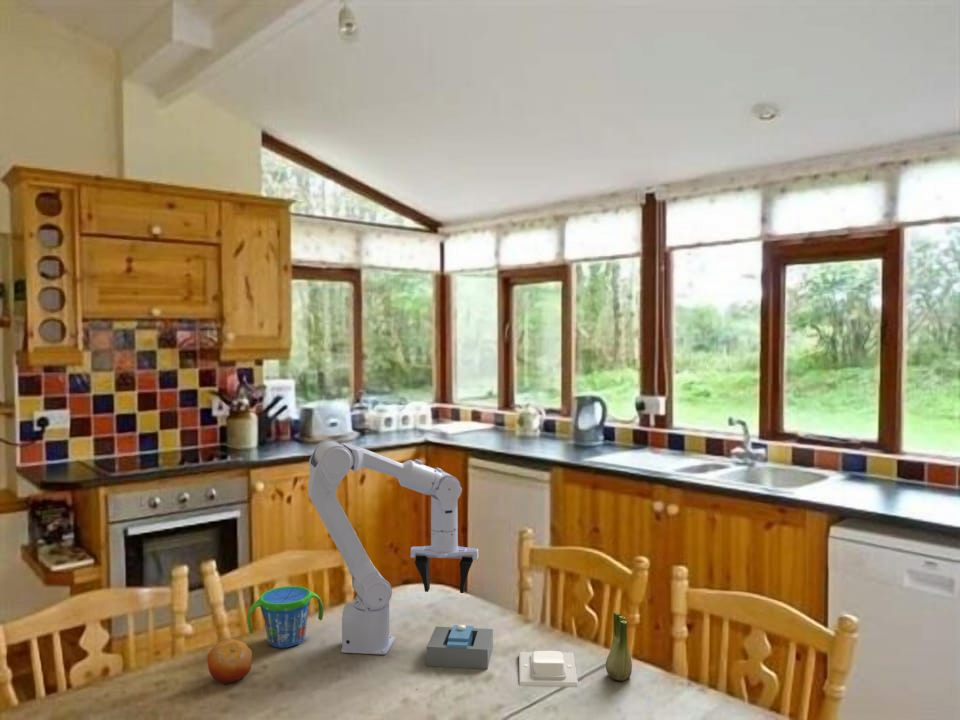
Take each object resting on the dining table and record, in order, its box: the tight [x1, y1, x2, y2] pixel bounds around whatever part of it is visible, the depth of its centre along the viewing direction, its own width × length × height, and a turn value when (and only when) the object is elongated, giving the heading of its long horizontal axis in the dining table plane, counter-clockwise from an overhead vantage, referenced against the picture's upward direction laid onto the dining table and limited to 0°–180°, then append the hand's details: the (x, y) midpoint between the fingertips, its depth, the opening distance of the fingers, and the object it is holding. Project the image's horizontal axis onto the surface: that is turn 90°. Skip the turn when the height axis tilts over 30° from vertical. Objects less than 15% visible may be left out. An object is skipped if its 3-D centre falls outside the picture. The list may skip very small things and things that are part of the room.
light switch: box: [518, 650, 579, 688], centre depth 142 cm, size 11×4×13 cm
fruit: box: [206, 638, 253, 685], centre depth 140 cm, size 8×8×8 cm
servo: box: [447, 624, 474, 648], centre depth 149 cm, size 4×10×6 cm, turn 173°
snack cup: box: [246, 585, 324, 649], centre depth 156 cm, size 16×10×10 cm
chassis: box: [426, 625, 494, 670], centre depth 149 cm, size 12×10×4 cm
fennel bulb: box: [605, 610, 633, 682], centre depth 139 cm, size 6×5×12 cm
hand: (444, 591), depth 160 cm, fingers open, 7 cm apart
